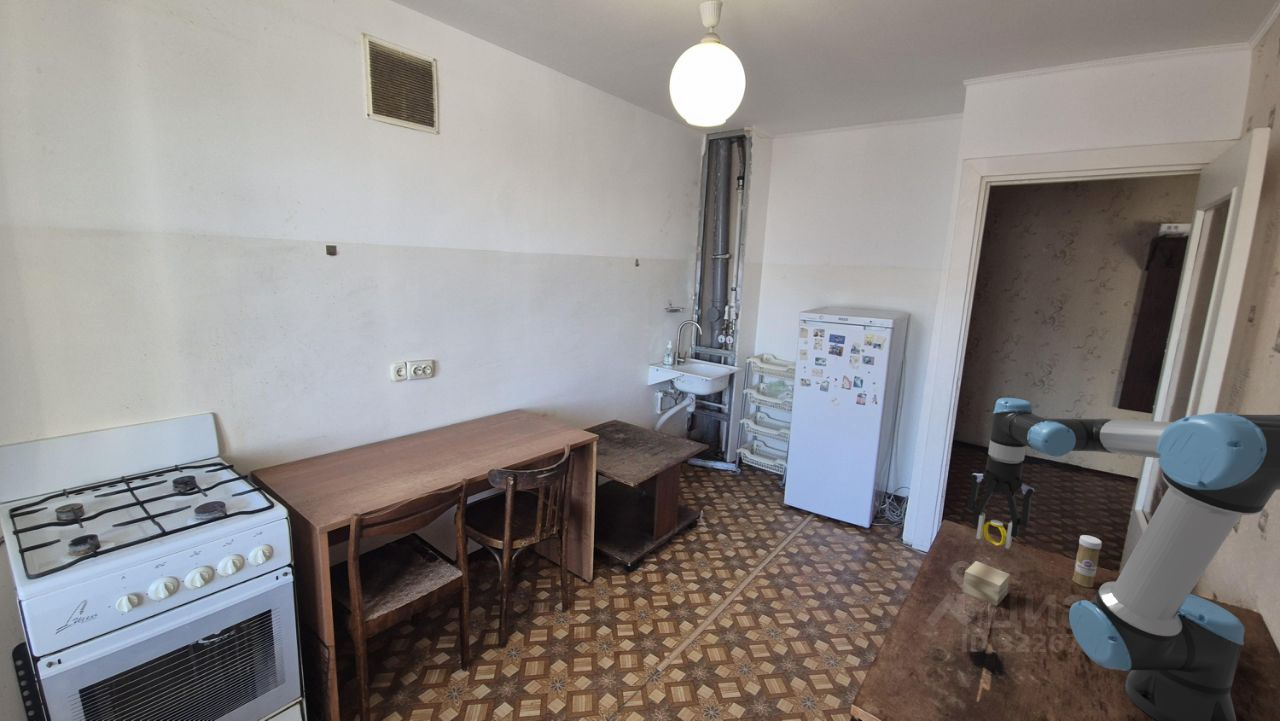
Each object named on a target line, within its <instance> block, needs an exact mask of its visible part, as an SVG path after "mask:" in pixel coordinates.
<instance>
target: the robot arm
mask: <svg viewBox="0 0 1280 721" xmlns="http://www.w3.org/2000/svg"><path fill="white" fill-rule="evenodd" d="M992 414H993V416H992V422H991V430H990V439H989V445H988V452H987V454H988V456H987V459H986V465H985V466H986V467H985V471H984V472H983V473H978V472H974V473H972V474H971V476H970V479H971V487H970V488H971V489H970V493H969V499H968V503H967V509H968V510H969V511H972V512H974V519H973V524H974V525H975V526H977V530H976V537H975V538H976V539H977V540H981V538H982V537H983V535H984V533H983V527H984V524H985V519H986V513H985V512H983V511H984V509H985V508H986V505H987V504H988V501H989V500H990V498H991V497H992V495H993V493H998V494H999V493H1000V494H1001V495H1004V496H1005V498H1006V500H1007V504H1008V509H1009V510H1008V511H1009V513H1010V514H1009V515H1010V518H1011V519H1010V520H1011V521H1009V523H1008V525H1007V531H1006V533H1007V538H1006V542H1005V544H1004V547H1005V549H1007V550H1009V549H1010V548H1011V545H1012V540H1013V538H1017V536H1018V534H1019V530H1020V526H1023V527H1026V526H1028V525H1029V523H1030V515H1031V503H1032V496H1033V493H1035V490H1036V489H1035V487H1034V486H1028V485H1027V484H1025V483H1024V482H1023V480H1022V479H1023V478H1022V475H1023V469H1024V462H1023V461H1024V460H1025V458H1026V457H1025V454H1026V450H1027V449H1026V447H1029V448H1031V449H1033V450H1034V451H1036V452H1039V453H1041V454H1044V455H1048V456H1050V457H1055V458H1056V457H1062V456H1064V455H1066V454H1070V452H1100V453H1106V454H1107V453H1108V454H1121V455H1128V456H1137V457H1145V458H1154V459H1157V462H1158V465H1159V466H1160V468H1161V470H1162V474H1161V477H1162V479H1163V480H1164V482H1165V483H1166V485H1167V486H1168V488H1167V490H1166V491H1165V493H1164V495H1163V497H1162V499H1161V500H1160V502H1159V504H1158V505H1157V508H1156V509H1155V511H1154V513H1153V515H1152V517H1151V518H1150V520H1149V522H1148V524H1147V526H1146V527H1145V529H1144V531H1143V533H1142V535H1141V536H1140V537H1139V540H1138V542H1137V544H1136V545H1135V548H1134V549H1133V551H1132V552H1131V554H1130V556H1129V558H1128V560H1127V561H1126V563H1125V565H1124V567H1123V569H1122V571H1121V572H1120V573H1119V575H1118V578H1117V580H1116V581H1107V582H1104V583H1103V584H1102V585H1101V586H1100V587H1099V588H1098V590H1097V592H1096V594H1095V596H1094V597H1093V599H1091V600H1086V599H1085V600H1080V601H1076V602H1074V603H1072V604H1071V606H1070V609H1069V613H1068V618H1069V625H1070V628H1071V630H1072V634H1073V636H1074V638H1075V640H1076V642H1077V644H1078V645H1079V648H1081V649H1082V651H1083V653H1085V654H1086V656H1088V658H1090V659H1091V660H1092V661H1093V662H1094V663H1095V664H1097V665H1099V666H1100V667H1103V668H1104V669H1105V668H1106V669H1109V670H1121V671H1122V672H1128V671H1130V672H1129V673H1128V675H1127V677H1126V681H1125V686H1124V687H1125V692H1126V694H1127V696H1128V697H1129V699H1130V700H1131V702H1132V703H1133V704H1134V705H1136V706H1137V707H1138V708H1139V709H1140V710H1141V711H1143V712H1144V713H1145V714H1146V715H1148V716H1149V717H1151V718H1152V719H1153V720H1155V721H1237V717H1236V713H1235V709H1234V703H1233V701H1232V696H1231V689H1232V686H1233V682H1234V678H1235V674H1236V670H1237V667H1238V662H1239V659H1240V655H1241V652H1242V647H1243V646H1244V644H1245V641H1244V636H1245V630H1246V629H1245V627H1244V624H1243V623H1242V622H1241V620H1240V619H1239V618H1238V617H1237V616H1236V615H1234V614H1233V613H1231V612H1230V611H1229V610H1227V609H1225V608H1223V607H1222V606H1220V605H1218V604H1216V603H1214V602H1212V601H1210V600H1208V599H1205V598H1203V597H1200V596H1198V595H1195V594H1192V593H1191V592H1192V591H1193V589H1194V588H1195V587H1196V585H1197V583H1198V582H1199V580H1200V579H1201V577H1202V575H1203V574H1204V572H1205V571H1206V570H1207V568H1208V567H1209V565H1210V564H1211V562H1212V560H1213V559H1214V558H1215V556H1216V554H1217V553H1218V551H1219V550H1220V548H1221V547H1222V545H1223V544H1224V542H1225V540H1226V539H1227V537H1228V536H1229V534H1230V533H1231V532H1232V530H1233V528H1234V527H1235V525H1236V523H1237V522H1238V521H1239V519H1240V517H1241V516H1249V515H1257V514H1259V513H1260V512H1263V509H1264V508H1265V506H1266V505H1267V503H1268V502H1269V501H1270V499H1271V498H1272V496H1273V495H1274V493H1275V492H1276V491H1277V490H1278V491H1280V414H1235V413H1228V412H1226V413H1225V412H1213V413H1211V412H1210V413H1206V414H1195V415H1189V416H1185V417H1183V418H1179V419H1177V420H1175V421H1154V420H1151V421H1150V420H1129V419H1114V418H1113V419H1111V418H1049V417H1048V418H1047V417H1043V416H1039V415H1037V414H1033V405H1032V403H1031V402H1030V401H1028V400H1024V399H1021V398H1015V397H1001V398H998V399H997V400H996V401H995V405H994V411H993V412H992ZM983 480H984V481H985V483H986V486H988V487H987V489H986V490H985V492H984V495H983V496H982V499H980V502H979V504H978V506H977V505H976V503H977V499H978V493H979V488H980V484H981V482H982V481H983ZM1019 489H1021V490H1022V494H1023V497H1022V498H1023V499H1022V510H1021V511H1022V513H1021V518H1020V514H1019V509H1018V505H1017V499H1016V491H1017V490H1019Z"/></svg>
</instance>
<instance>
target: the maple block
mask: <svg viewBox="0 0 1280 721" xmlns="http://www.w3.org/2000/svg"><path fill="white" fill-rule="evenodd" d="M1010 578H1011V574H1010V573H1007V572H1005V571H1003V570H1000V569H998V568H995V567H992V566H990V565H987V564H985V563H983V562H980V561H977V560H976V561H974V562H973V563H972V564H971V565H970V566H969V567H968V568H967V569H966V570H965V571H964V576H963V584H962V590H961V591H962V592H964V593H966V594H968V595H970V596H973V597H975V598H977V599H979V600H981V601H984V602H987V603H988V604H990V605H993V606H996V607H997V606H999V604H1000V603H1001V602H1002V601H1003V600H1004V599H1005V597H1006V596H1007V595H1008V590H1009V584H1010Z"/></svg>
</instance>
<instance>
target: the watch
mask: <svg viewBox="0 0 1280 721" xmlns="http://www.w3.org/2000/svg"><path fill="white" fill-rule="evenodd" d="M990 525H991V526H993V527H996V528H998V529H999V531H1000V534H1001V541H1000V542H997V541H995V539H992V537H991V536H990V534H989V533H990V532H989V526H990ZM983 536H984V538H985V539H986V541H988V542H989V543H991V544H993V545H994V546H1002V545H1006V538H1007V531H1006V529H1005V527H1004V523H1003V522H1002V521H1000V520H997V519H991V520H990V521H987V522H986V523H985V522H984V527H983Z"/></svg>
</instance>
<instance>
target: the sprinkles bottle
mask: <svg viewBox="0 0 1280 721" xmlns="http://www.w3.org/2000/svg"><path fill="white" fill-rule="evenodd" d="M1078 543H1079V545H1078V550H1077V554H1076V558H1075V565H1074V572H1073V577H1072V581H1073V582H1074V583H1075V584H1077V585H1079V586H1081V587H1083V588H1084V587H1085V588H1093V587H1094V586H1095V585H1094V582H1095V577H1096V574H1097V567H1098V564H1099V556H1100V550H1101V549H1102V546H1103V543H1102V540H1100V539H1099V538H1098V537H1095V536H1092V535H1086V534H1082V535H1080V536H1079V540H1078Z"/></svg>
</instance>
